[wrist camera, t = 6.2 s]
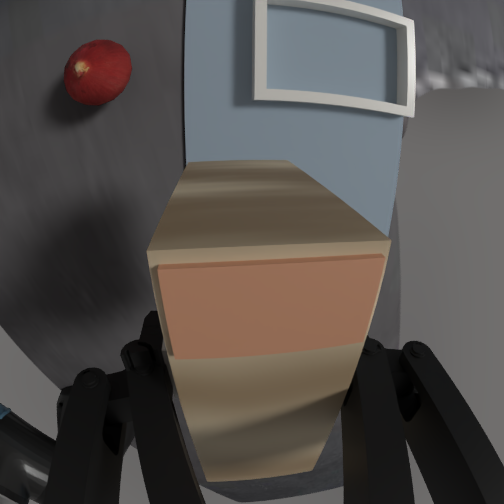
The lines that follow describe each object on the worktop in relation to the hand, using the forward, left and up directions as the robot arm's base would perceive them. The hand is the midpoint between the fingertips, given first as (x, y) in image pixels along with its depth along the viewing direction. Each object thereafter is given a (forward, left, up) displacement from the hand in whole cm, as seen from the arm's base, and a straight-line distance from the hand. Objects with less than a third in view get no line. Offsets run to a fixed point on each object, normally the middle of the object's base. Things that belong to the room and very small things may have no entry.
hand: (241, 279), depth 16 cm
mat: (+7, -7, -14) cm, 18 cm away
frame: (+15, -10, -14) cm, 23 cm away
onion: (+13, +11, -15) cm, 23 cm away
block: (0, 0, -1) cm, 1 cm away
